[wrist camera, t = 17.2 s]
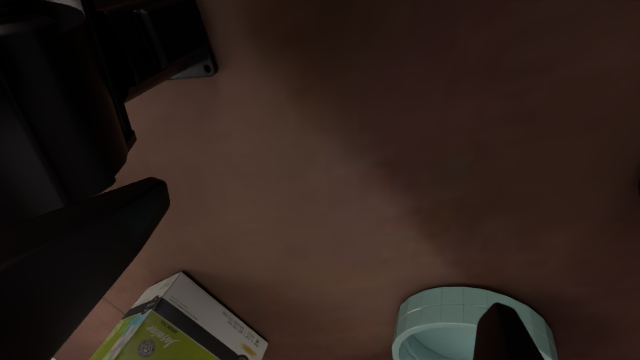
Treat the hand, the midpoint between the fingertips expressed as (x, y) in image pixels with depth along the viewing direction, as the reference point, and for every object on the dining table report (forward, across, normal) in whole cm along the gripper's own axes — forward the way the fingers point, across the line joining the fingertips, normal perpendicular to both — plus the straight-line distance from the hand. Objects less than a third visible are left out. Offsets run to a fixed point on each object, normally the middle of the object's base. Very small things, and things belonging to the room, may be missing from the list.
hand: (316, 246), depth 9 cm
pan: (+13, -13, +20) cm, 27 cm away
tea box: (+13, +14, +37) cm, 41 cm away
